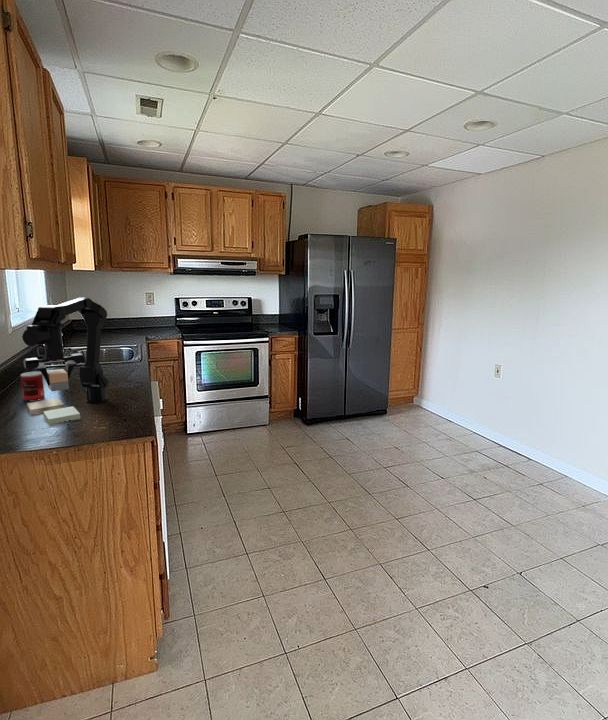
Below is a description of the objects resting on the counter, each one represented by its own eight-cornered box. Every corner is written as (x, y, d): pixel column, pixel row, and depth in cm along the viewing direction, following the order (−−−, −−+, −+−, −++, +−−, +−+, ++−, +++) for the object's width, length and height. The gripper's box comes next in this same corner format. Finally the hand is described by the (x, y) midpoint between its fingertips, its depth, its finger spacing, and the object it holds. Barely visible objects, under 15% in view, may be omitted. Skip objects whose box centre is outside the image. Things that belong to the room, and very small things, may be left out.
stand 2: (43, 416, 156) (43, 411, 155) (73, 411, 162) (73, 406, 162) (49, 424, 147) (48, 419, 147) (80, 418, 154) (79, 413, 153)
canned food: (40, 394, 183) (37, 370, 181) (47, 398, 178) (44, 373, 176) (20, 398, 177) (17, 373, 175) (27, 402, 172) (24, 376, 170)
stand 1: (59, 403, 172) (58, 398, 171) (64, 409, 164) (63, 404, 164) (27, 408, 165) (26, 403, 165) (31, 414, 157) (30, 409, 157)
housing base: (47, 386, 154) (46, 378, 153) (64, 384, 157) (63, 376, 157) (51, 391, 148) (50, 383, 147) (69, 388, 151) (68, 380, 151)
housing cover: (46, 378, 153) (46, 370, 153) (63, 376, 157) (63, 368, 156) (50, 383, 147) (49, 375, 146) (68, 380, 151) (67, 372, 150)
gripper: (77, 336, 161) (81, 375, 164) (19, 341, 149) (24, 383, 152) (83, 340, 153) (88, 381, 156) (23, 345, 141) (28, 389, 144)
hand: (57, 383), depth 152 cm, fingers closed on housing base, housing cover, 5 cm apart
